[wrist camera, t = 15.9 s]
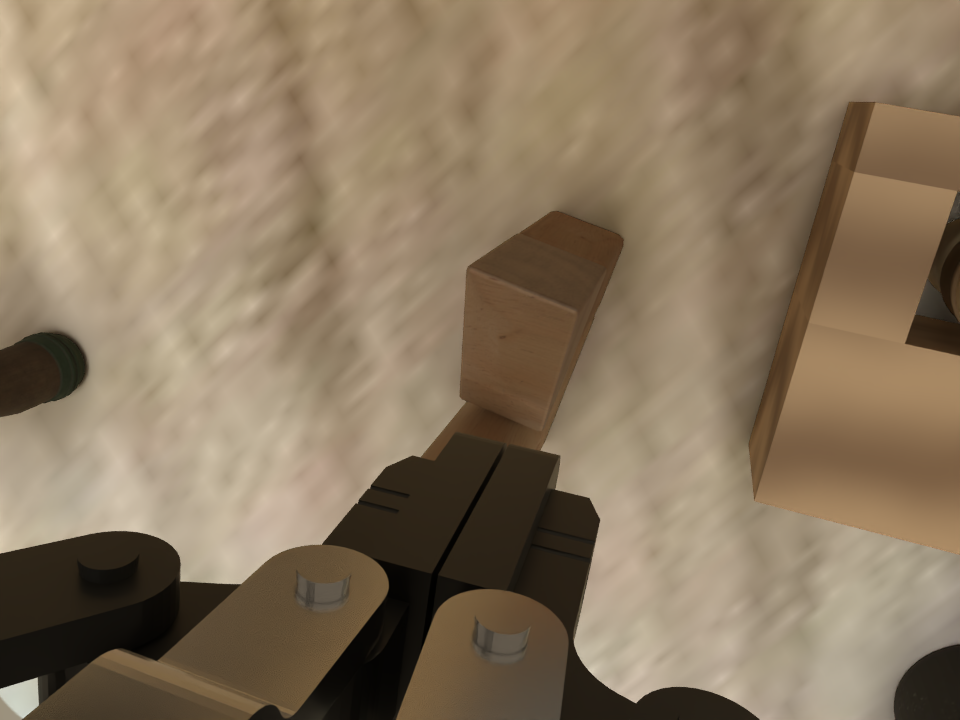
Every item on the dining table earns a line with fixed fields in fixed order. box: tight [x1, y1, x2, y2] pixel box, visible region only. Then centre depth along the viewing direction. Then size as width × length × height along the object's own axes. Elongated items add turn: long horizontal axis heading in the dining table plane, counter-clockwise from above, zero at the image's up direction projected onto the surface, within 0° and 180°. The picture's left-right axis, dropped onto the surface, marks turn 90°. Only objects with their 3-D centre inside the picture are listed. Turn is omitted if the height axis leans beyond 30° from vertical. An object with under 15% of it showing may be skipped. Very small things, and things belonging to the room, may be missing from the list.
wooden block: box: [421, 211, 623, 461], centre depth 31 cm, size 4×11×18 cm, turn 161°
